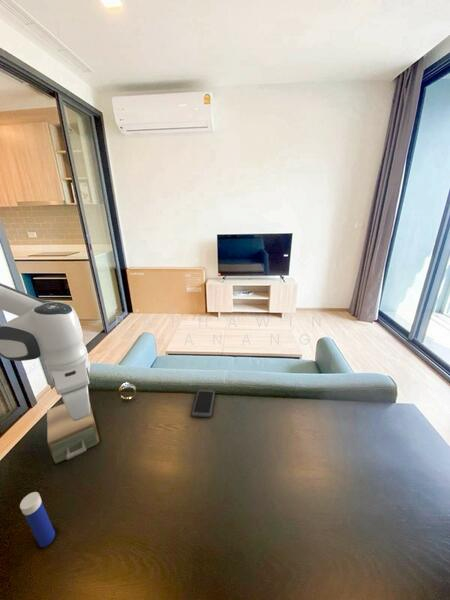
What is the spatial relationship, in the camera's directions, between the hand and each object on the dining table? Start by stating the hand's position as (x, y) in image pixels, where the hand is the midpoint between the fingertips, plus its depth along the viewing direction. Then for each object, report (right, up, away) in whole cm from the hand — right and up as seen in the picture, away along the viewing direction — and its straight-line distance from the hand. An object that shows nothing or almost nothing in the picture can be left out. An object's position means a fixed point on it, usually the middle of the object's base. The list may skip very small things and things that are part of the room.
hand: (81, 408), depth 65 cm
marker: (-4, -27, -7) cm, 29 cm away
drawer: (-11, -18, +16) cm, 26 cm away
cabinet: (-13, -18, +19) cm, 29 cm away
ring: (-1, -12, +35) cm, 37 cm away
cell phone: (+30, -12, +32) cm, 46 cm away
